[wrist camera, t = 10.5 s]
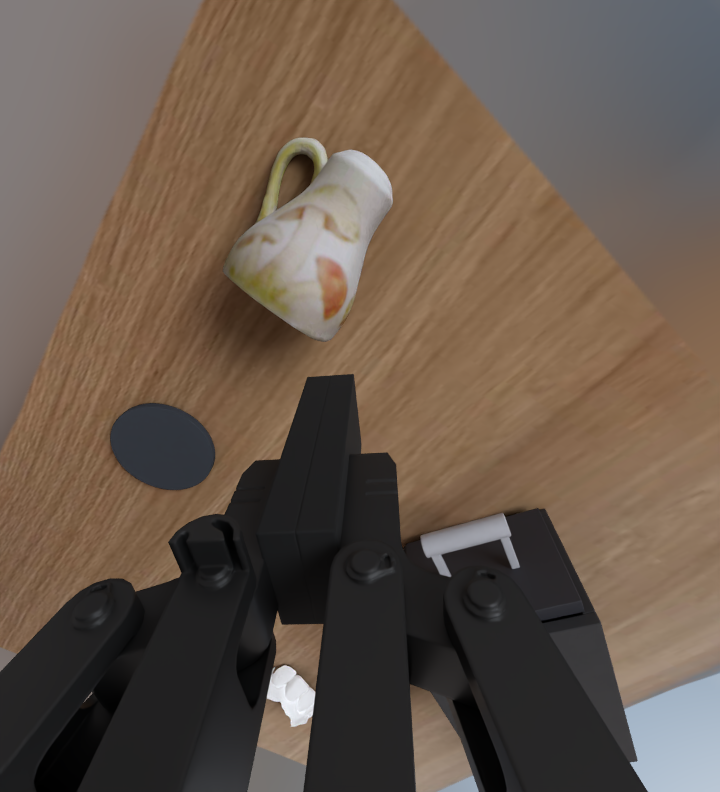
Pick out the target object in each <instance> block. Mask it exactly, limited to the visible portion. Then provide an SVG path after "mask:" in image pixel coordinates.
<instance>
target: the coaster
mask: <svg viewBox="0 0 720 792" xmlns="http://www.w3.org/2000/svg"><path fill="white" fill-rule="evenodd" d="M110 440H111V446H112V450H113V452H114V455H115V457H116V458H117V460H118V461H119V463H120V464H121V465H122V466H123V467H124V469H125V470H126V471H128V472H129V473H130V474H131V475H132V476H134V477H135V478H137V479H138V480H140V481H142V482H144V483H146V484H148V485H151V486H154V487H157V488H161V489H167V490H181V489H187V488H190V487H193V486H195V485H197V484H199V483H200V482H202V481H203V480H204V479H205V478H206V477H207V476H208V474H209V472H210V471H211V469H212V467H213V464H214V461H215V449H214V444H213V441H212V439H211V437H210V435H209V434H208V432H207V431H206V429H205V428H204V427H203V426H202V425H201V424H200V423H199V422H198V421H197V420H196V419H195V418H193V417H192V416H191V415H189V414H188V413H186V412H184V411H182V410H180V409H177V408H175V407H172V406H168V405H164V404H156V403H149V404H141V405H137V406H134V407H132V408H130V409H128V410H127V411H125V412H124V413H123V414H122V415H121V416H120V417H119V418H118V419H117V420H116V422H115V423H114V425H113V427H112V430H111V437H110Z"/></svg>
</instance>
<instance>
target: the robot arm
mask: <svg viewBox="0 0 720 792" xmlns="http://www.w3.org/2000/svg"><path fill="white" fill-rule="evenodd" d="M168 543H169V545H170V547H171V549H172V552H173V554H174V556H175V559H176V561H177V563H178V565H179V568H180V570H181V572H182V573H181V576H180V577H179V578H176V579H174V580H171V581H169V582H166V583H163V584H160V585H156V586H153V587H150V588H147V589H143V590H140V591H137V592H135V590H134V588H133V586H132V584H131V583H130V582H128V581H126V580H124V579H107V580H103V581H100V582H97V583H94V584H92V585H90V586H89V587H87V588H85V589H83V590H82V591H80V592H79V593H77V594H76V595H75V596H74V597H73V598H72V599H70V600H69V601H68V602H67V603H66V604H65V605H64V606H63V607H62V608H61V609H60V610H59V611H58V612H57V613H56V614H55V615H54V616H53V617H52V618H51V619H50V621H49V622H48V623H47V624H46V625H45V626H44V627H43V628H42V629H41V630H40V631H39V632H38V633H37V634H36V635H35V636H34V637H33V638H32V639H31V640H30V641H29V642H28V644H27V645H26V646H25V647H24V648H23V649H22V650H21V651H20V652H19V653H18V654H17V655H16V656H15V657H14V658H13V659H12V660H11V661H10V662H9V663H8V665H7V666H6V667H5V668H4V669H3V670H2V671H1V672H0V792H247V790H248V785H249V780H250V776H251V771H252V766H253V761H254V756H255V752H256V747H257V742H258V737H259V732H260V727H261V723H262V718H263V713H264V708H265V703H266V698H267V694H268V689H269V684H270V679H271V674H272V669H273V664H274V660H275V655H276V639H275V636H274V633H273V628H274V623H275V619H276V615H277V610H278V613H279V616H280V620H281V623H282V625H288V624H324V626H323V634H322V642H321V650H320V659H319V667H318V675H317V683H316V692H315V700H314V708H313V716H312V725H311V733H310V741H309V750H308V758H307V766H306V774H305V783H304V791H303V792H416V783H415V766H414V749H413V732H412V715H411V698H410V684H412V685H414V686H417V687H420V688H422V689H425V690H428V691H430V692H433V693H436V694H438V695H441V696H444V697H446V699H447V701H448V704H449V707H450V710H451V713H452V716H453V719H454V722H455V724H456V727H457V730H458V733H459V736H460V739H461V742H462V744H463V747H464V750H465V753H466V756H467V759H468V762H469V764H470V767H471V770H472V773H473V776H474V779H475V782H476V784H477V787H478V790H479V792H648V791H647V790H646V788H645V787H644V785H643V783H642V782H641V780H640V779H639V777H638V775H637V774H636V772H635V771H634V769H633V767H632V766H631V764H630V763H629V761H628V759H627V758H626V756H625V755H624V753H623V751H622V750H621V748H620V747H619V745H618V743H617V742H616V740H615V739H614V737H613V735H612V734H611V732H610V731H609V729H608V727H607V726H606V724H605V723H604V721H603V719H602V718H601V716H600V715H599V713H598V711H597V710H596V708H595V707H594V705H593V703H592V702H591V700H590V699H589V697H588V695H587V694H586V692H585V690H584V689H583V687H582V686H581V684H580V682H579V681H578V679H577V678H576V676H575V674H574V673H573V671H572V670H571V668H570V666H569V665H568V663H567V662H566V660H565V658H564V657H563V655H562V654H561V652H560V650H559V649H558V647H557V646H556V644H555V642H554V641H553V639H552V638H551V636H550V634H549V633H548V631H547V630H546V628H545V626H544V625H543V623H542V622H541V620H540V618H539V617H538V615H537V614H536V612H535V610H534V609H533V607H532V606H531V604H530V602H529V601H528V599H527V598H526V596H525V594H524V593H523V591H522V590H521V588H520V587H519V586H518V585H517V584H516V583H515V582H514V580H513V579H512V578H511V577H509V576H508V575H506V574H504V573H503V572H501V571H499V570H498V569H495V568H491V567H487V566H483V565H478V566H467V567H464V568H462V569H460V570H458V571H456V572H454V573H453V575H452V576H451V577H448V576H444V575H441V574H437V573H433V572H430V571H428V570H425V569H422V568H421V567H419V566H418V565H416V564H415V563H413V562H412V561H411V560H410V559H409V558H408V557H407V555H406V554H405V552H404V550H403V548H402V544H401V535H400V519H399V503H398V488H397V472H396V464H395V462H394V461H393V460H392V458H391V457H390V456H389V454H388V453H368V454H361V436H360V427H359V418H358V409H357V400H356V391H355V382H354V374H348V375H333V376H319V377H307V380H306V383H305V386H304V389H303V392H302V395H301V398H300V401H299V404H298V407H297V410H296V413H295V416H294V419H293V422H292V425H291V428H290V431H289V434H288V437H287V440H286V443H285V446H284V449H283V452H282V455H281V458H280V459H278V460H259V461H255V462H254V463H253V464H252V465H251V466H250V467H249V468H248V469H247V470H246V471H245V472H244V473H243V474H242V476H241V478H240V481H239V483H238V485H237V487H236V491H235V492H234V494H233V496H232V499H231V503H229V506H228V508H227V510H226V512H225V515H221V514H213V515H208V516H202V517H200V518H198V519H195V520H193V521H191V522H189V523H187V524H186V525H185V526H183V527H182V528H181V529H179V530H178V531H177V532H176V533H175V534H174V536H173V537H172V538H171V539H170V541H169V542H168ZM91 692H92V693H93V694H92V695H91V696H90V697H89V698H88V699H87V700H86V701H85V699H86V698H87V697H88V696H89V694H90V693H91ZM84 701H85V702H84ZM83 702H84V703H83Z"/></svg>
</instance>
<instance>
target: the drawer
mask: <svg viewBox="0 0 720 792" xmlns="http://www.w3.org/2000/svg"><path fill="white" fill-rule="evenodd" d="M406 553H407V557H408V558H409V559H410V560H411V561H412V562H413V563H415V564H416V565H418V566H419V567H421V568H422V569H425V570H428V571H430V572H433V573H437V574H441V575H444V576H448V577H451V576H452V575H453V573H454V572H456V571H458V570H460V569H462V568H464V567H467V566H478V565H483V566H487V567H491V568H495V569H498V570H499V571H501V572H503V573H504V574H506V575H508V576H509V577H511V578H512V579H513V580H514V582H515V583H516V584H517V585H518V586H519V587H520V588H521V590H522V591H523V593H524V594H525V596H526V598H527V599H528V601H529V602H530V604H531V606H532V607H533V609H534V610H535V612H536V614H537V615H538V617H539V618H540V620H541V622H542V623H546V622H551V621H555V620H560V619H565V618H570V617H573V614H576V613H581V612H584V611H585V610H584V607H583V604H582V600H581V598H580V596H579V594H578V592H577V590H576V587H575V585H574V583H573V581H572V579H571V577H570V575H569V573H568V570H567V568H566V566H565V564H564V562H563V560H562V558H561V556H560V553H559V551H558V549H557V547H556V545H555V543H554V541H553V539H552V536H551V534H550V532H549V530H548V528H547V526H546V524H545V522H544V519H543V517H542V515H541V513H540V511H539V509H538V508H537V509H533V510H529V511H525V512H522V513H518V514H514V515H511V516H507V517H505V516H504V513H499V514H496V515H492V516H488V517H485V518H481V519H478V520H474V521H470V522H467V523H463V524H459V525H456V526H452V527H448V528H445V529H441V530H437V531H434V532H430V533H427V534H423V535H421V540H419V541H415V542H412V543H408V544H406Z"/></svg>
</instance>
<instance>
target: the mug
mask: <svg viewBox="0 0 720 792" xmlns="http://www.w3.org/2000/svg"><path fill="white" fill-rule="evenodd" d="M299 154H304V155H307V156H308V157H310V158H311V159H312V160H313V163H314V174H313V177H312V181H311V184H310V185H309V187H308V188H307V189H306V190H305V191H303V192H302V193H301V194H300V195H299V196H297V197H296V198H294V199H293V200H291V201H290V202H288V203H287V204H285V205H284V206H282V207H281V208H279V209H278V210H277V204H278V196H279V190H280V185H281V181H282V177H283V175H284V172H285V170H286V168H287V166H288V164H289V162H290V161H291V159H292V158H293V157H294V156H296V155H299ZM392 203H393V199H392V187H391V183H390V181H389V179H388V177H387V175H386V174H385V172H384V171H383V170H382V169H381V168H380V167H379V166H378V165H377V163H376V162H374V161H373V160H372V159H371V158H369V157H368V156H367V155H365V154H364V153H361V152H359V151H355V150H346V151H343V152H338V153H334V154H333V155H332V156H331V157H330V158H329V160H328V158H327V155H326V151H325V148H324V147H323V146H322V145H321V144H320V142H318V141H317V140H316V139H312V138H296V139H293V140H291V141H289V142H288V143H287V144H286V145H285V146H284V147H283V148H282V149H281V150H280V151H279V153H278V155H277V157H276V159H275V161H274V164H273V166H272V169H271V172H270V176H269V181H268V185H267V190H266V193H265V197H264V199H263V204H262V208H261V211H260V214H259V216H258V219H257V221H256V223H255V225H253V226H252V227H251V228H249V229H248V230H247V231H246V232H245V233H244V234H243V235H242V236H241V237H240V238H239V239H238V240H237V242H236V243H235V244H234V246H233V247H232V249H231V251H230V253H229V255H228V257H227V259H226V261H225V264H224V266H223V272H224V274H225V275H226V276H227V277H228V278H229V279H230V280H232V281H233V282H234V283H235V284H236V285H237V286H239V287H240V288H241V289H242V290H243V291H245V292H246V293H247V294H248V295H250V296H251V297H252V298H254V299H255V300H256V301H257V302H259V303H260V304H261V305H263V306H264V307H266V308H267V309H268V310H270V311H271V312H272V313H274V314H275V315H277V316H278V317H280V318H281V319H282V320H284V321H285V322H287V323H288V324H290V325H291V326H293V327H294V328H296V329H297V330H299V331H300V332H302V333H304V334H305V335H307V336H309V337H310V338H312V339H315V340H317V341H322V342H326V341H329V340H331V339H332V338H333V336H334V335H335V334H336V333H337V331H338V330H339V329H340V328H341V326H342V325H343V324H344V322H345V320H346V319H347V317H348V315H349V312H350V310H351V307H352V304H353V302H354V298H355V294H356V290H357V286H358V282H359V278H360V274H361V270H362V266H363V262H364V258H365V254H366V251H367V247H368V245H369V243H370V240H371V238H372V236H373V234H374V232H375V230H376V229H377V227H378V226H379V224H380V223H381V221H382V220H383V218H384V217H385V215H386V214H387V213H388V211H389V210H390V208H391V207H392Z"/></svg>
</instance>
